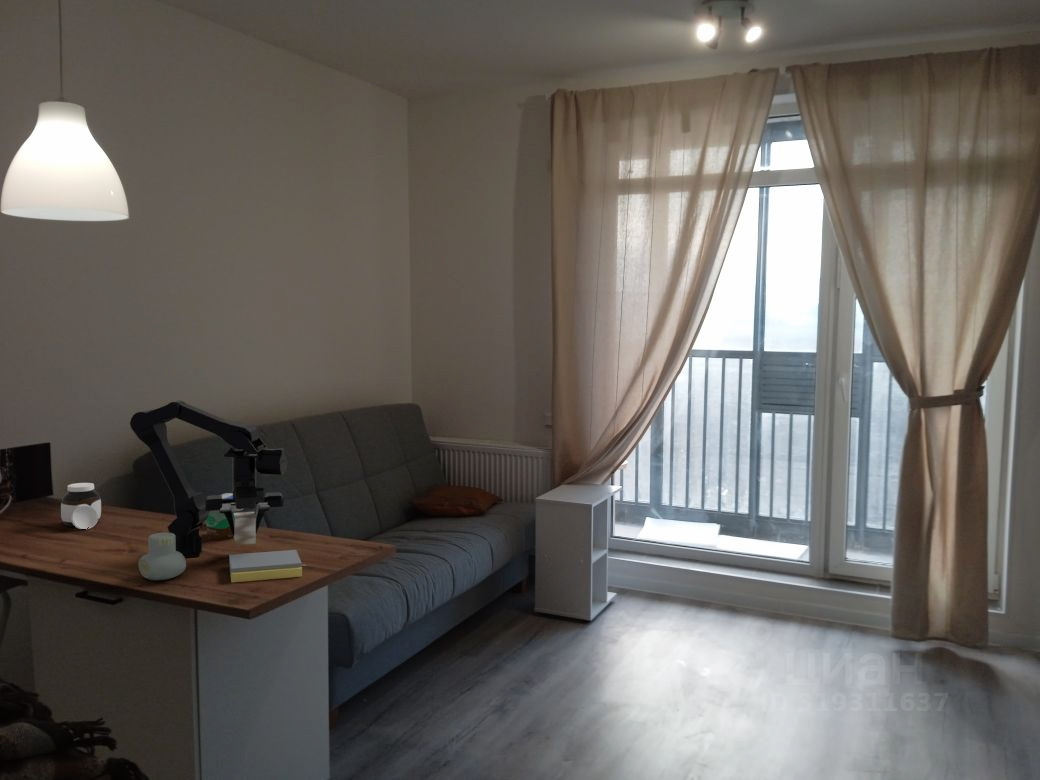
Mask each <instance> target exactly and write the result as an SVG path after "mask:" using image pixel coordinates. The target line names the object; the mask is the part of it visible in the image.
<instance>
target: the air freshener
mask: <svg viewBox="0 0 1040 780" xmlns="http://www.w3.org/2000/svg"><path fill="white" fill-rule="evenodd" d="M147 542H148V543H147V544H148V547H147V550H148V552H147V553H145V554H144V555H142V556H141V557H140V558H139V560H138V570H139V572H140V574H141V576H142V577H144V578H145V579H148V580H149V581H167V580H170V579H173V578H175V577H178V576H180V575H181V574H182V573H183V572H184V571H185V570H186V568H187V561H186V557H184V556H183V555H182V554H181V553H180V552H178V551H176V539H175V535H174V534H173V533H169V532H156V533H152V534H150V535H149V536H148V541H147Z"/></svg>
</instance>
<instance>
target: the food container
mask: <svg viewBox="0 0 1040 780" xmlns="http://www.w3.org/2000/svg"><path fill="white" fill-rule="evenodd" d="M231 510H232V517H233V523H234V513H241V512H242V511H243V510H244V508H243V509H237V508H236V505H232V506H231ZM205 525H206V535H207V538H208V539H210V540H214V541H216V540H217V541H225V540H233V539H234V535H233V534H232V531H231V528H230V525H229V523H228V520H227V518H226V516H225V515H224V513H219V510H215V511H210V513H209V516H208V518H207V519H206V520H205Z"/></svg>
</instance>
